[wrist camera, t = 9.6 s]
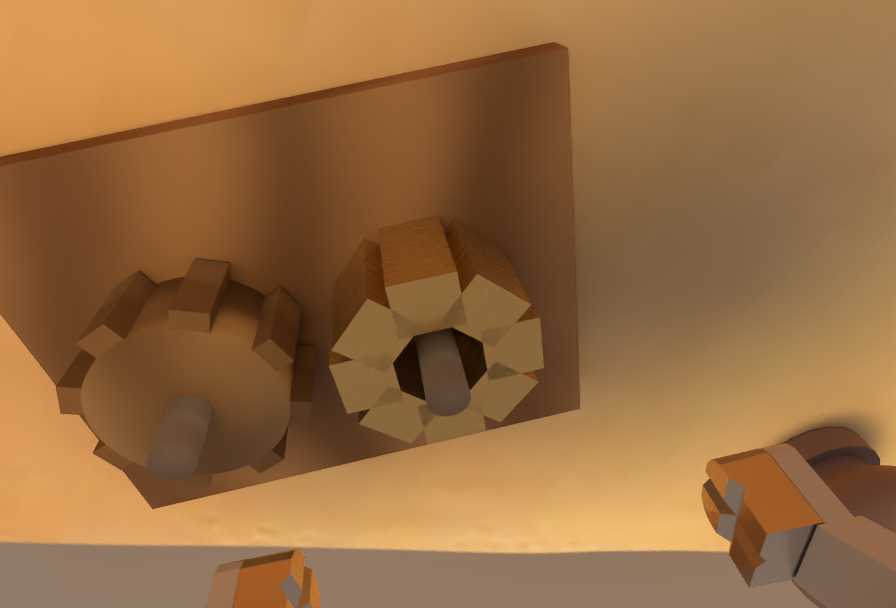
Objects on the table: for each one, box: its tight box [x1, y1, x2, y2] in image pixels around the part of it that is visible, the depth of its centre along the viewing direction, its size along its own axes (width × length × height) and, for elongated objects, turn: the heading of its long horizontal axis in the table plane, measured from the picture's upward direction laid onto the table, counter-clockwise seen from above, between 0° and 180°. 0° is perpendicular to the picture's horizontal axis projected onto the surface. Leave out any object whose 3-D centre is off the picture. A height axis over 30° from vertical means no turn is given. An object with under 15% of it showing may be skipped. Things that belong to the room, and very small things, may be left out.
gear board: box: [0, 42, 580, 509], centre depth 17 cm, size 18×14×6 cm
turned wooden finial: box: [784, 427, 896, 608], centre depth 25 cm, size 9×8×12 cm
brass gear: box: [329, 215, 544, 444], centre depth 17 cm, size 6×6×4 cm
